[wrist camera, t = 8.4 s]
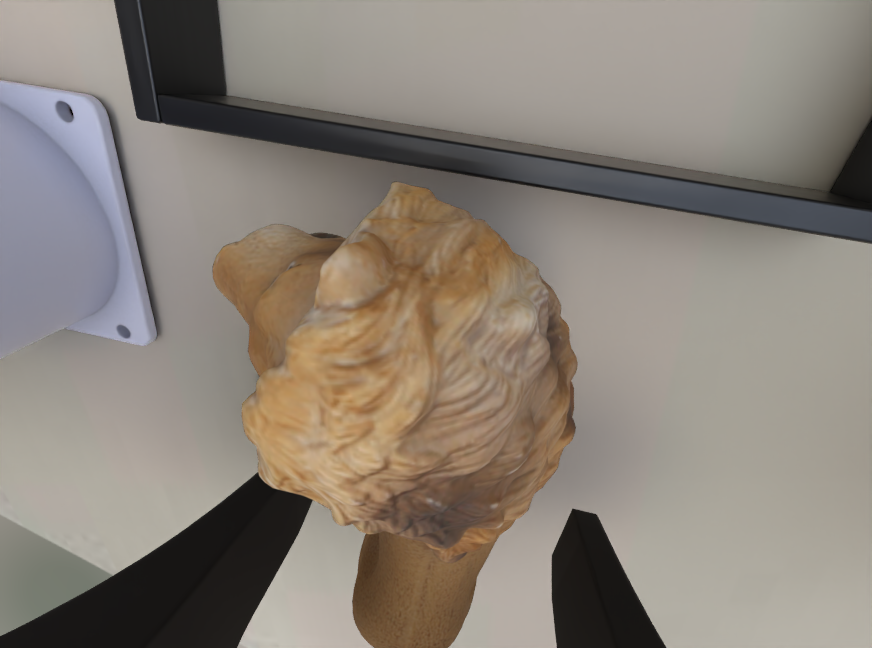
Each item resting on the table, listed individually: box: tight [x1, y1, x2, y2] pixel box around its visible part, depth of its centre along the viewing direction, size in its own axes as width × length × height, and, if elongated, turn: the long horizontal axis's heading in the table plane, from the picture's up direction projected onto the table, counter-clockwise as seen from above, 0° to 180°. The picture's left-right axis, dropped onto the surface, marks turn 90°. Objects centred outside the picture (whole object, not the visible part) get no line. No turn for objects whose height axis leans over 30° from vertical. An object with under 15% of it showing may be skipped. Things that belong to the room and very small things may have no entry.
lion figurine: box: [213, 182, 577, 648], centre depth 10 cm, size 15×5×9 cm, turn 0°
